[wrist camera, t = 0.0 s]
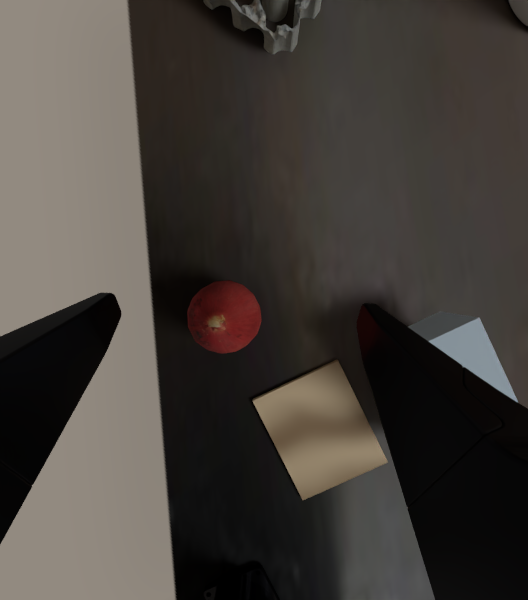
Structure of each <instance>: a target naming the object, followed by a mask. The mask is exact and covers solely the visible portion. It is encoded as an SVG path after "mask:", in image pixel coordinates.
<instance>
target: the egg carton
mask: <svg viewBox="0 0 528 600" xmlns="http://www.w3.org/2000/svg"><path fill="white" fill-rule="evenodd" d="M203 1H204V3H205V5H206V6H207V7H209V8H210V9H212V10H213V9H214V8H216V7H218V6H220V5H224V6H228V7H230V8H231V11H232V17H233V25H234V27H236V28H238V29H240V30H242V31H246V30H247V29H250V28H257V29H259V30H261V31H262V32H263V34H264V49H265V50H266V51H267V52H269V53H270V54H273V55H274V54H275V53H276V52H278V51H280V50H286V51H289V52H292V51H293V49H294V48H295V46H296V45H297V41H298V33H299V25H300V19H301V18H311V19H314V18H315V17H316V16H317V14H318V13H319V11H320V8H321V1H322V0H295V11H294V21H293V28H290V27H288V26H287V25H286V24H284V25H282V26H279V25H277V30H276V31H275V33H273V32H272V31H271V30H268V29H267V28H266V19H267V20H269V21H271V22H279V21H281V20H282V19H283V18H285V16H286V14H287V11H288V0H262V6H261V2H260V0H254V1H253V3H252V4H250V5H243V6H241V7H239V5H238V4H237V3H236V2H235V0H203Z"/></svg>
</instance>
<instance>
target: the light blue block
mask: <svg viewBox="0 0 528 600" xmlns="http://www.w3.org/2000/svg"><path fill="white" fill-rule="evenodd" d="M408 327H409V328H410V329H412V330H413V331H414V332H416V333H417V334H419V335H420V336H422V337H423V338H424V339H426V340H427V341H429V342H430V343H431V344H433V345H434V346H436V347H437V348H439V349H440V350H441V351H443V352H444V353H446V354H447V355H448V356H450V357H451V358H453V359H454V360H456V361H457V362H458V363H460V364H461V365H462V366H463V367H466V368H467V369H468V370H470V371H471V372H473V373H474V374H475V375H477V376H478V377H480V378H481V379H483V380H484V381H486V382H487V383H489V384H490V385H491V386H493V387H494V388H496V389H497V390H499V391H501V392H502V393H504V394H505V395H507V396H508V397H510V398H511V399H513V400H515V401H516V402H518V401H517V399H516V396H515V394H514V392H513V390H512V388H511V386H510V383H509V381H508V379H507V377H506V375H505V373H504V370H503V368H502V366H501V364H500V362H499V359H498V357H497V355H496V353H495V351H494V349H493V346H492V344H491V342H490V340H489V338H488V335H487V333H486V331H485V329H484V327H483V325H482V322H481V320H480V318H479V317H473V316H466V315H460V314H454V313H447V312H441V311H439V312H437V313H435V314H433V315H431V316H429V317H427V318H425V319H423V320H420V321H418V322H416V323H414V324H412V325H410V326H408Z"/></svg>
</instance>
